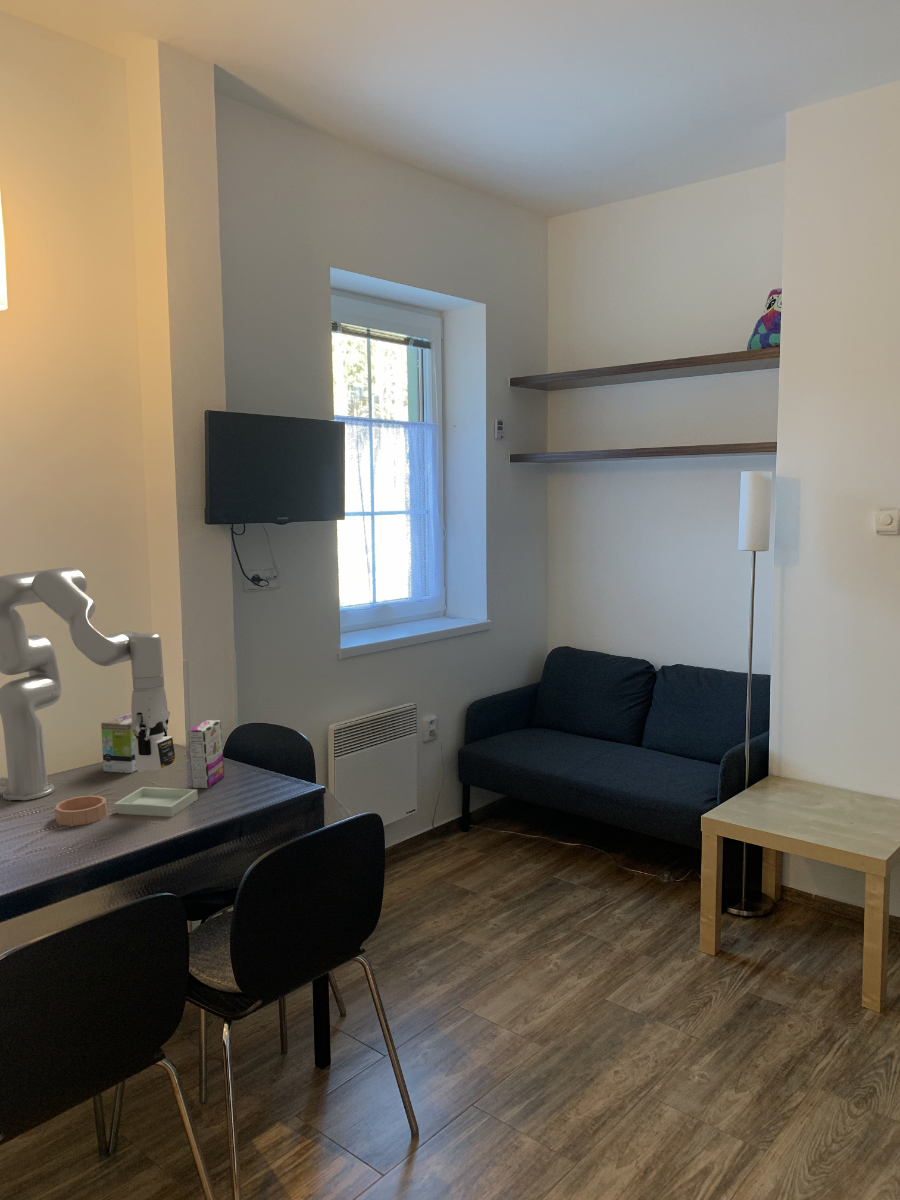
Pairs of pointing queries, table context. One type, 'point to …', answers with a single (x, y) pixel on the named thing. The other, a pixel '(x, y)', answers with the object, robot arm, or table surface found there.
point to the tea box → (118, 744)
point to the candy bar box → (206, 753)
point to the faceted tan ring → (81, 810)
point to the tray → (156, 801)
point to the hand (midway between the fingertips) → (153, 749)
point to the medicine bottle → (156, 751)
